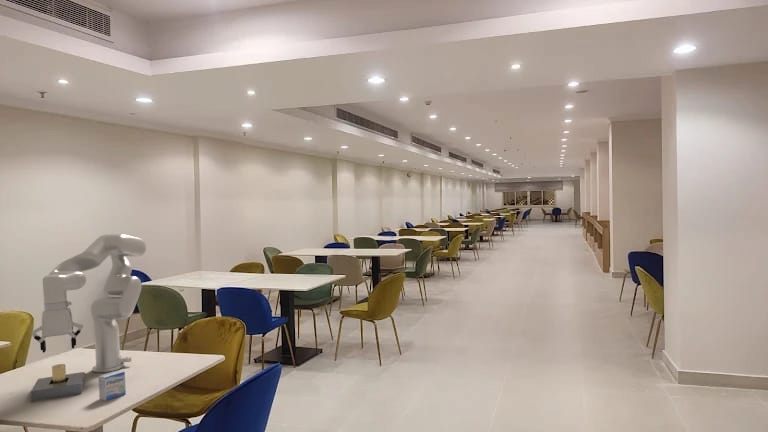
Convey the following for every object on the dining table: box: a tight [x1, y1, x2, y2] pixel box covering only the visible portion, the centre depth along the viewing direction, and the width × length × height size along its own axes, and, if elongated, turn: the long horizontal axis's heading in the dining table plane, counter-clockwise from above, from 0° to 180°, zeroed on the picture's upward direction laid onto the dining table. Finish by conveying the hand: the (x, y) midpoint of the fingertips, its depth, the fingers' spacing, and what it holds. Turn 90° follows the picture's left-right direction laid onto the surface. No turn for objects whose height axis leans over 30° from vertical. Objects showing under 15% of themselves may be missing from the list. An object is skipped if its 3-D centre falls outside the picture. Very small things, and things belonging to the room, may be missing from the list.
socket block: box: [30, 371, 86, 403], centre depth 200 cm, size 16×16×4 cm
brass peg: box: [51, 363, 67, 384], centre depth 200 cm, size 4×4×10 cm
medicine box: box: [98, 370, 127, 402], centre depth 192 cm, size 8×4×9 cm, turn 148°
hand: (58, 349), depth 200 cm, fingers open, 9 cm apart
